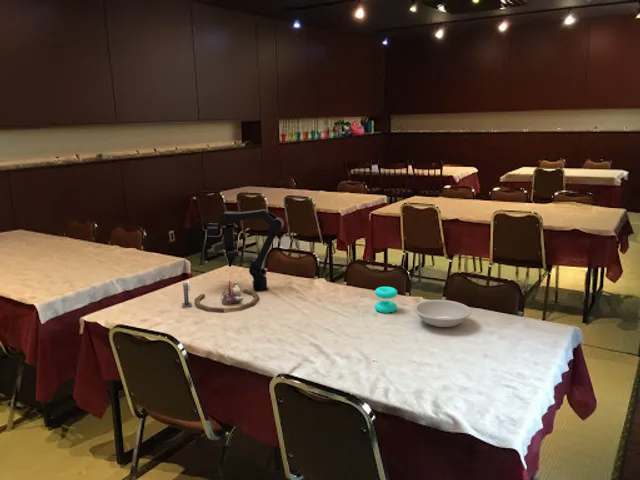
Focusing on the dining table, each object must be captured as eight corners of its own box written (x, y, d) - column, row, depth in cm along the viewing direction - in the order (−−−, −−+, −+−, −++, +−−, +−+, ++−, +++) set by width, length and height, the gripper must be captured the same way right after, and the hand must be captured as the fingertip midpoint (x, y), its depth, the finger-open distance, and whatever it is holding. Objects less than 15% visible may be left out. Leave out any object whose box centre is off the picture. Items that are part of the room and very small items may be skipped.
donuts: (375, 292, 242) (375, 285, 251) (374, 313, 244) (374, 306, 254) (397, 292, 241) (396, 285, 250) (397, 314, 243) (396, 306, 253)
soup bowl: (472, 336, 218) (473, 321, 216) (411, 332, 222) (412, 317, 221) (468, 315, 241) (469, 301, 239) (413, 312, 245) (414, 298, 244)
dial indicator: (190, 303, 260) (188, 278, 257) (191, 307, 255) (189, 281, 253) (182, 304, 259) (180, 279, 256) (183, 308, 254) (181, 282, 251)
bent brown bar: (253, 290, 278) (253, 288, 277) (264, 307, 254) (264, 304, 253) (193, 297, 268) (192, 294, 268) (199, 315, 244) (198, 312, 244)
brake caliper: (215, 295, 264) (229, 275, 264) (233, 306, 268) (247, 286, 268) (217, 303, 253) (232, 281, 253) (237, 314, 257) (251, 293, 257)
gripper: (209, 234, 281) (211, 263, 284) (214, 242, 264) (216, 273, 267) (231, 232, 284) (232, 261, 288) (237, 240, 267) (239, 270, 271)
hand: (230, 266), depth 278 cm, fingers closed
